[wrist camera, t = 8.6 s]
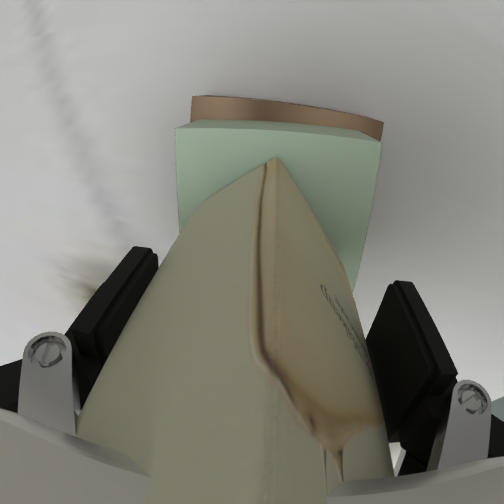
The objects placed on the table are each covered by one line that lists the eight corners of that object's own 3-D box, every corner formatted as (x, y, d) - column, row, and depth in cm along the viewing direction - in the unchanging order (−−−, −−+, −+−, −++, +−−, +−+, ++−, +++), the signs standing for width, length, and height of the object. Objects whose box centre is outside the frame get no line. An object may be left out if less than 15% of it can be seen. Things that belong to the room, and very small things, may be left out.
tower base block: (363, 116, 20) (383, 122, 16) (335, 251, 25) (345, 282, 21) (208, 95, 20) (192, 96, 16) (201, 234, 25) (186, 263, 21)
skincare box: (344, 264, 14) (415, 539, 4) (265, 304, 16) (252, 562, 5) (274, 149, 12) (286, 534, 1) (187, 205, 13) (37, 496, 3)
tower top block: (357, 130, 16) (382, 142, 12) (336, 266, 20) (348, 309, 16) (199, 119, 17) (175, 128, 13) (202, 257, 21) (185, 297, 17)
